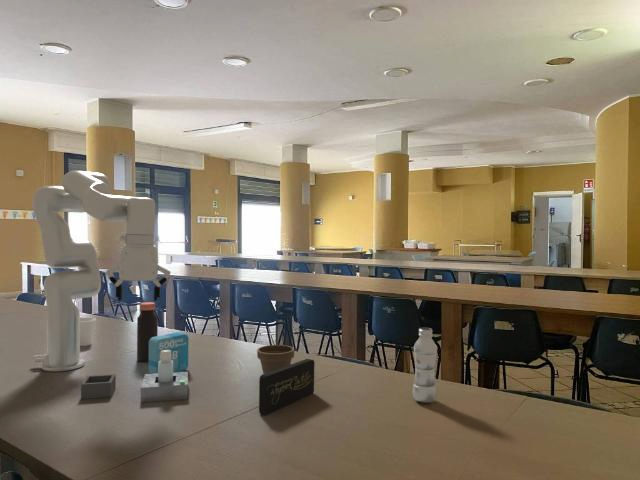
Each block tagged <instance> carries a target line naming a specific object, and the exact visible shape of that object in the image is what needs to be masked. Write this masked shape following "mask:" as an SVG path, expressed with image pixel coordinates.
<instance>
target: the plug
mask: <svg viewBox="0 0 640 480" xmlns="http://www.w3.org/2000/svg"><path fill="white" fill-rule="evenodd" d="M162 382H173V360H171V350H162V351H161V361H159V362H158V383H162Z"/></svg>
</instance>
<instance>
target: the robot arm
mask: <svg viewBox="0 0 640 480" xmlns="http://www.w3.org/2000/svg"><path fill="white" fill-rule="evenodd" d="M60 182H61V185H43V186H41V187H39V188H37V189H36V190H35V192H34V194H33V197H32V202H31V203H32V210H33V213H34V214H33V215H34V217H35V219H36V222H37V224H38V226H39V230H40V235H41V242H42V243H41V244H42V248H43V255H44V260H45V263H46V265H47V267H48V266H49V267H50V268H53V269H64V268H66V269H67V268H77V270H66V271H65V270H64V271H57V272H56V271H55V272H52V273H50V274H48V275H47V276H46V277H45V279H44V280H43V292H44V296H45V302H46V353H44V354H43V355H40V354H37V355H36V354H35V355H33V356H32V362H34V363H42V364H41V370H43V371H44V372H45V371H46V372H65V371H72V370H77V369H79V368H81V367H83V366H85V363H86V362H85V360H84V359H83V358H80V355H81V354H80V352H81V351H80V350H81V349H80V348H81V346H80V318H81V317H80V316H81V315H80V310H79V308H78V306H77V305H76V304H75V303H74V301H73V300H78V299H84V298H85V299H86V298H93V297H95V296H97V295H98V294H99V293H100V291H101V288H102V281H101V280H102V278H101V273H100V266H99V261H98V254H97V249H96V248H95V246H94V245H93V243H92V242H91V241H89V240H88V239H73V238H72V236H71V231H70V226H69V224H68V222H67V221H66V220H65V219H64V218H63V216H62V215H60V214H59V212H60V213H86V214H87V215H88V216H91V217H92V218H94V219H96V220H99V221H102V222H120V223H126V224H125V225H126V228H125V234H124V235H120V241H123V242H125V244H122V247H121V251H120V259H119V264H118V265H115V266H113V267H111V268H109V269H107V270H106V271H105V273H106V276H107V277H108V279H109V281H110V282H112V284H113V285H114V287H115V298H117V301H119V302H120V301H122V299H123V285H122V283H124V281H127V282H128V281H129V282H131V281H132V282H135V281H136V282H152V283H153V284H154V285H155V286H154V289H153V291H154V292H153V301H155V302H157V300H158V298H160V296H161V287H162V285H164V283H166V282H167V280H168V278H169V276H170V275H171V270H168V269H167V268H165V267H163V266H160V265H159V264H158V262H159V260H158V258H159V257H158V250H157V245H155V223H156V221H155V220H156V201H155V200H154V199H153V198H152V197H151V198H149V197H142V196H141V197H137V196H136V197H135V196H125V195H117V194H116V195H114V194H111V191H112V190H111V189H112V183H111V181H110V179H109V178H108V176H106V175H105V174H103V173H100V172H93V171H92V172H91V171H84V170H71V171H69V172H66V173H65V174H64V175H63V176H62V178H61V181H60ZM117 271H118V277H119V278H118V279H117V278H116V276H114V272H117ZM158 272H160V273H163V274H164V275H163V277H162V278H161V279H159V278H158V274H159V273H158Z"/></svg>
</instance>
